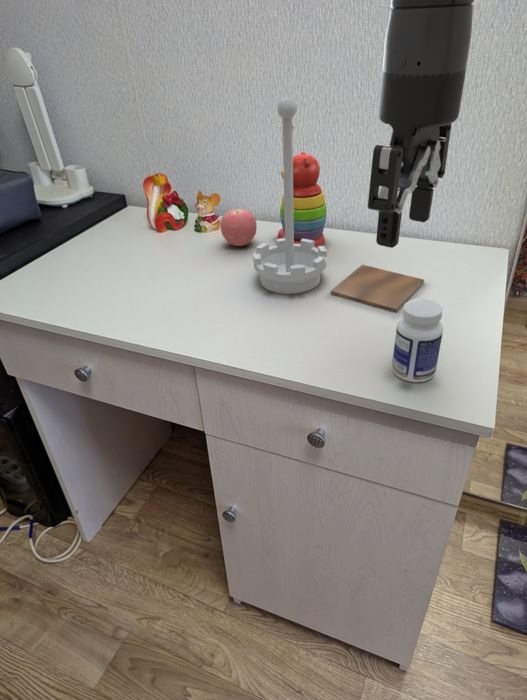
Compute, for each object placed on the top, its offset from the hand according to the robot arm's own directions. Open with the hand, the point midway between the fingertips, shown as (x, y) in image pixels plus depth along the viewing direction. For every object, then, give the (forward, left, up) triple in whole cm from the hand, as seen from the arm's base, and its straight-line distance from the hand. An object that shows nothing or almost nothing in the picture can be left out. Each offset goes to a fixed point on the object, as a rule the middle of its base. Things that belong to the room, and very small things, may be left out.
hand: (403, 232), depth 55 cm
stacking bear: (+33, -31, -20) cm, 50 cm away
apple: (+44, -24, -20) cm, 54 cm away
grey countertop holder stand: (+26, -16, -20) cm, 37 cm away
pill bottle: (-3, -2, -20) cm, 21 cm away
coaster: (+11, -21, -20) cm, 31 cm away
